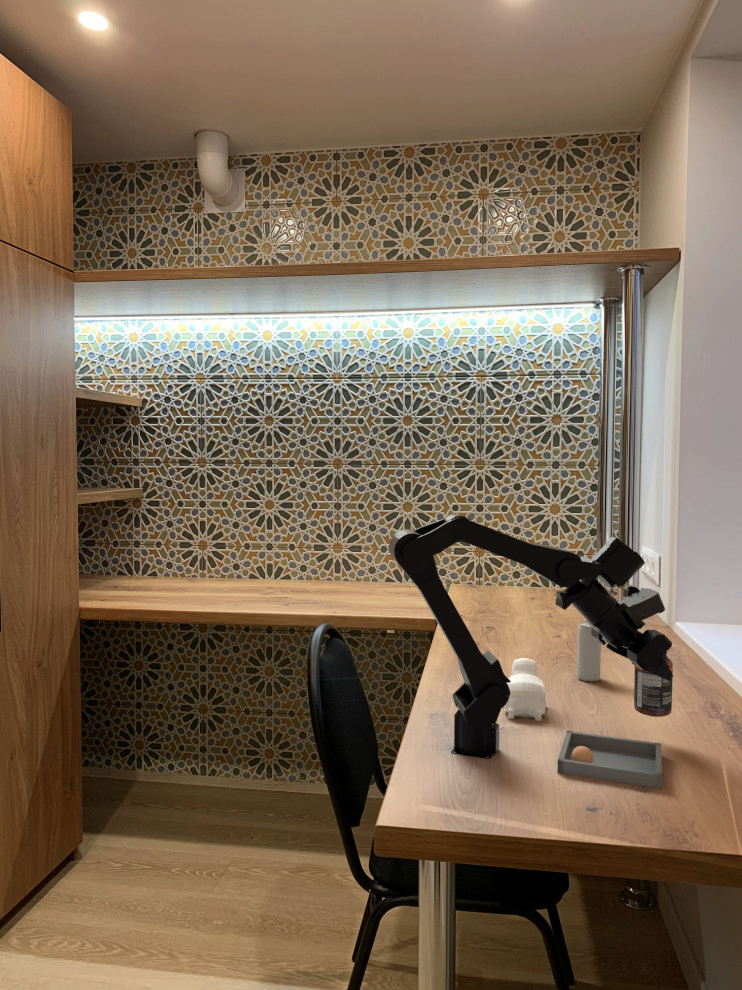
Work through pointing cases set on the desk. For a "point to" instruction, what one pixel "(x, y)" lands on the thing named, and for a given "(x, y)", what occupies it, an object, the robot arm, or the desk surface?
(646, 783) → the tray
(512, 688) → the white low-poly figurine
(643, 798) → the desk surface
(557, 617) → the desk surface
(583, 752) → the ball
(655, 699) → the supplement bottle
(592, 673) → the beverage can
